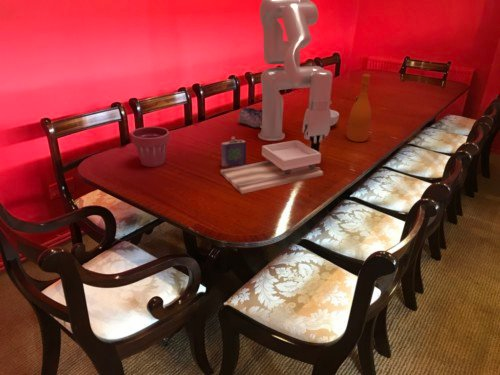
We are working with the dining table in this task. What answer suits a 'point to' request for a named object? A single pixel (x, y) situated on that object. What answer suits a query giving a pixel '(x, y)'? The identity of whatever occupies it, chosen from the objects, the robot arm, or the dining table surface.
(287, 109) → the dining table surface
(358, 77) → the dining table surface
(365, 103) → the wine bottle
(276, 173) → the rail board
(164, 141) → the plant pot
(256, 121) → the geode
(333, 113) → the cereal bowl
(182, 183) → the dining table surface
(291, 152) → the pink rimmed tray
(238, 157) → the flask
